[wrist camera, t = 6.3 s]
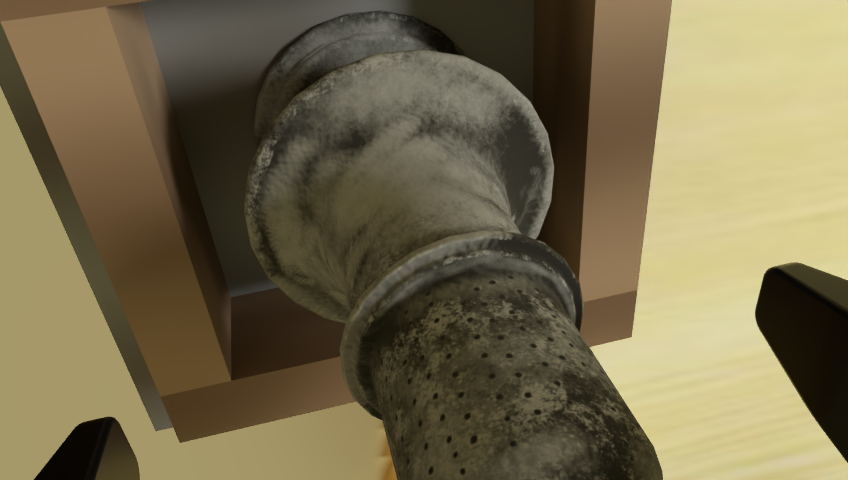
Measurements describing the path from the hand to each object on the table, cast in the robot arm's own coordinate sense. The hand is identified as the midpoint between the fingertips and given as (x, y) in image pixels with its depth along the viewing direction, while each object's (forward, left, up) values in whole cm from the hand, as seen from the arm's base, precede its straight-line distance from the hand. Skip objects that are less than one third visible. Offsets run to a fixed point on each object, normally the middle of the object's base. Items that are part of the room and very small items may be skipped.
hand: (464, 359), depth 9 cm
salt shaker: (0, 0, -8) cm, 8 cm away
